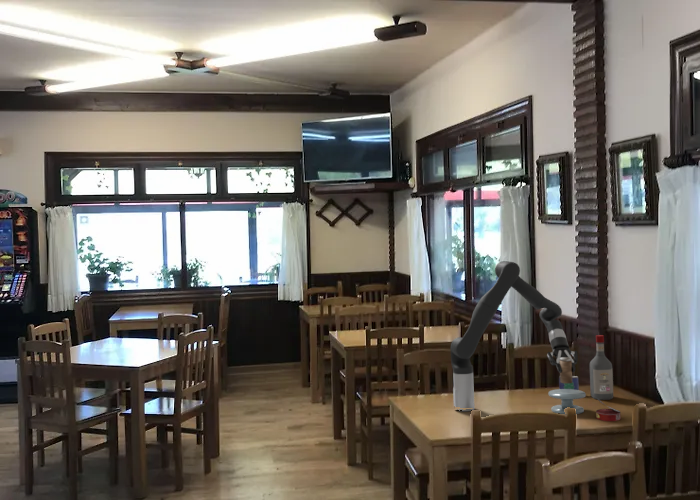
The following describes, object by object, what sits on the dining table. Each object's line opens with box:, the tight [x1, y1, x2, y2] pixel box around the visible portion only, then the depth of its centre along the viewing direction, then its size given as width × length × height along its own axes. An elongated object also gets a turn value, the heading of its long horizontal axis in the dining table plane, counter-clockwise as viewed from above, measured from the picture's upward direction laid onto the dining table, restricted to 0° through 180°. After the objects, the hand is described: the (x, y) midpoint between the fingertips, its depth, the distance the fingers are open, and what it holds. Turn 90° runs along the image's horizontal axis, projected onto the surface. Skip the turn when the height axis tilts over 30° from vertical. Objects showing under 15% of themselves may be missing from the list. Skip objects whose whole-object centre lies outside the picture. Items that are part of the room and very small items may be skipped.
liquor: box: [589, 334, 614, 401], centre depth 336 cm, size 9×9×30 cm
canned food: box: [595, 399, 621, 422], centre depth 300 cm, size 11×10×10 cm
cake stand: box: [548, 388, 586, 415], centre depth 315 cm, size 16×16×8 cm
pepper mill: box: [559, 357, 573, 383], centre depth 315 cm, size 5×5×11 cm
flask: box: [558, 375, 580, 390], centre depth 345 cm, size 9×3×11 cm, turn 78°
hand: (567, 371), depth 313 cm, fingers closed on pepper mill, 5 cm apart
